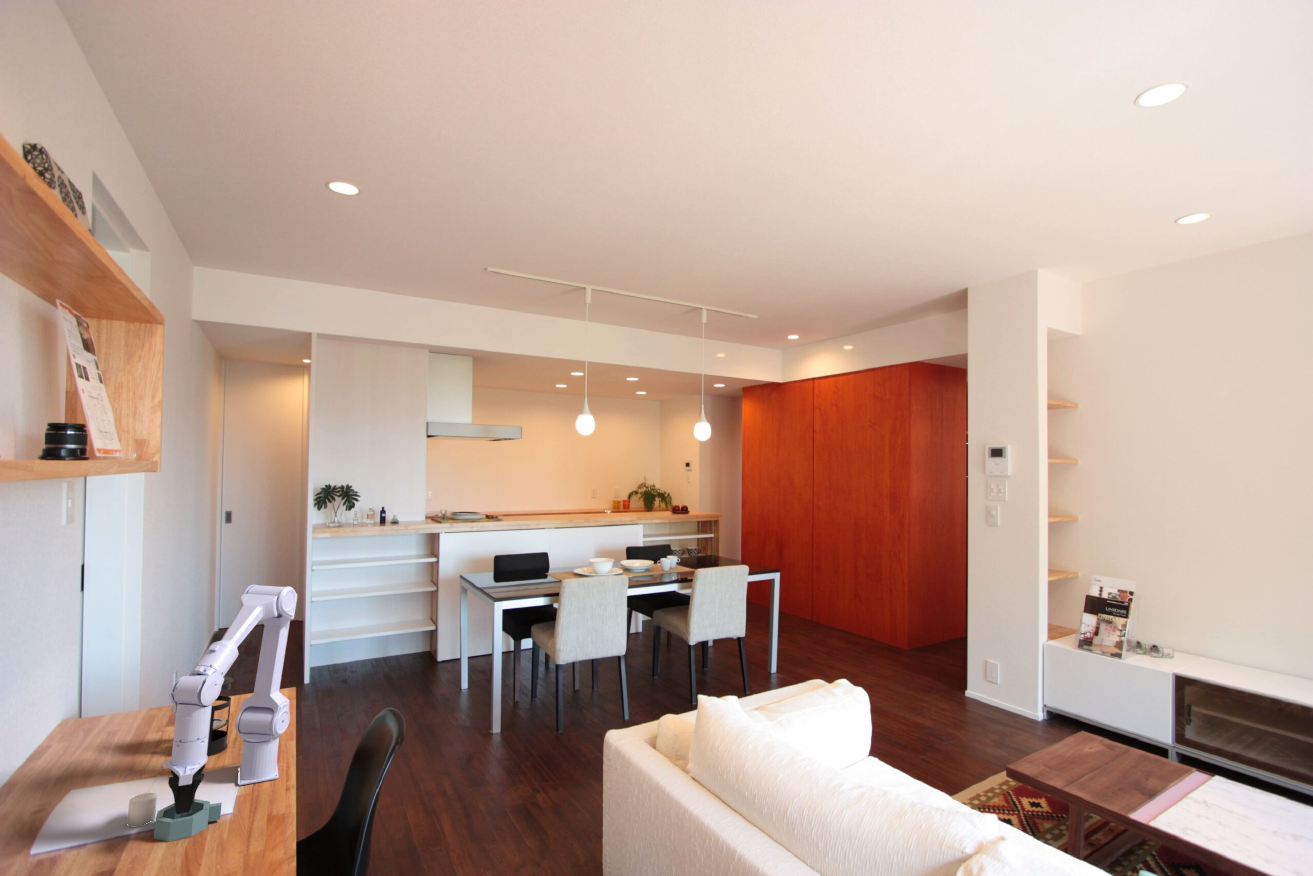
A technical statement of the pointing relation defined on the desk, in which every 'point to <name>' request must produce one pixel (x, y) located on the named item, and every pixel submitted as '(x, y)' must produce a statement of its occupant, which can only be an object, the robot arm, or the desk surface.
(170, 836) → the grey-green octagonal bowl
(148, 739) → the desk surface
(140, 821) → the cream rounded block
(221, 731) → the french press
